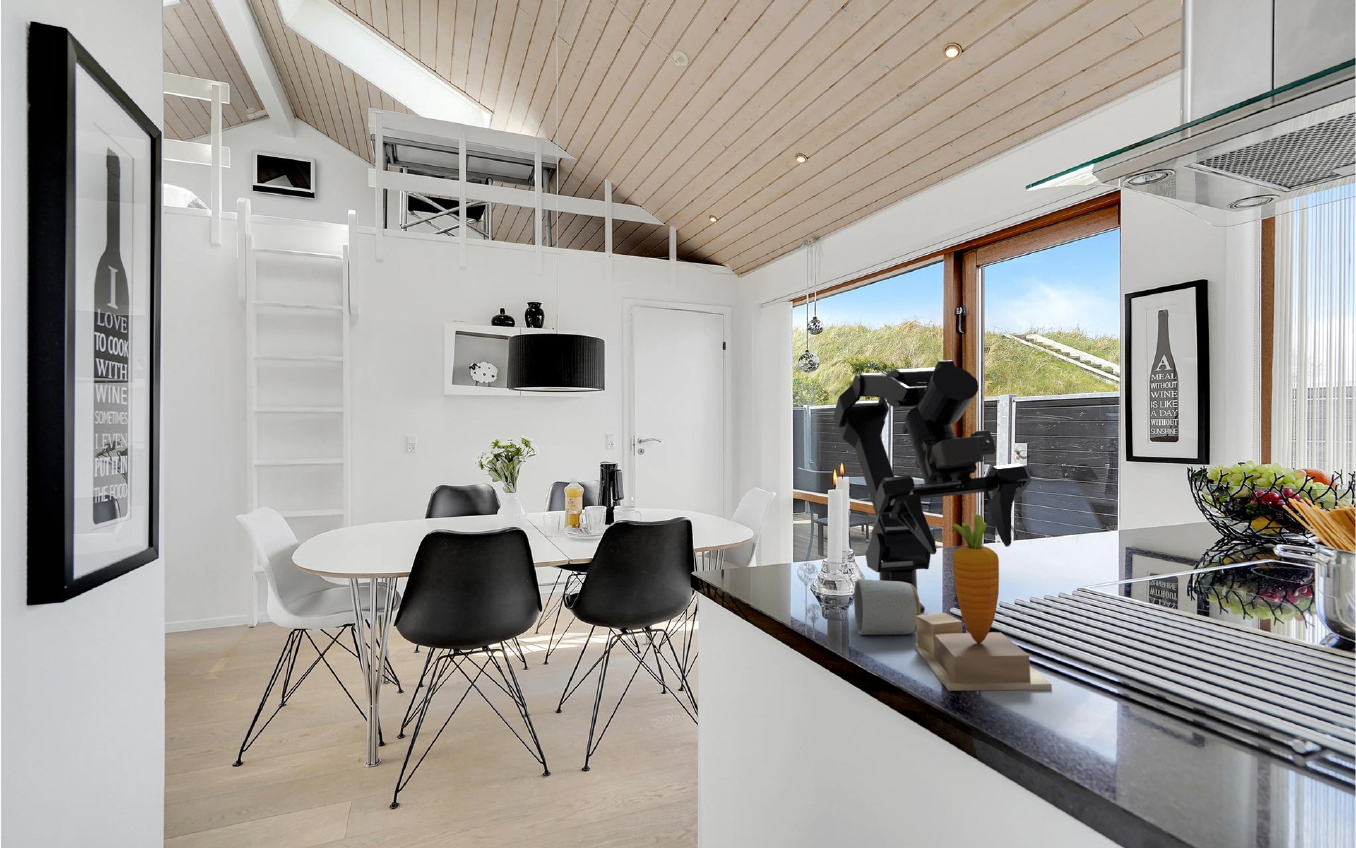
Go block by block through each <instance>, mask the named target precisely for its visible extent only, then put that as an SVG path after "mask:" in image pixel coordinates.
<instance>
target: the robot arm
mask: <svg viewBox="0 0 1356 848" xmlns="http://www.w3.org/2000/svg"><path fill="white" fill-rule="evenodd" d="M978 391H979V382H978V380H977V378H976V377H975V376H973V375H972V374H971V373H970V372H969V371H967V370H965V369H963V368H962V367H958V366H956V365H955V362H954V360H938V362H937V363H936V365H935V367H922V368H921V367H920V368H917V367H915V368H896V369H892V370H891V371H888V372H887V373H881V372H868V373H858V374H856V375H854V377H853V380H852V383H851V385H850V386H849V387H848V388H847V389H845V390H844V392H842V393H841V394H840V395H839V396H838V398H837V402H836V405H835V408H834V413H833V415H834V416H833V420H834V425H835V427H837V428H838V431H839V434H840V436H841V438H842V439H843V441H845V442H846V443H847V444H848V445H849V446H851V447H853V448H854V449H855V453H856V456H857V458H858V459H857V460H858V462H859V465H860V468H861V469H860V470H861V472H862V474H863V478H864V481H865V483H866V487H867V491H868V494H869V497H870V500H871V504H872V506H873V510H874V514H875V522H874V524H873V526H872V527H873V528H872V530H871V532H870V533H871V539H870V541H869V543H868V547H867V549H866V552H865V558H866V559H865V560H866V565H867V567H868V568H869V569H871V570H872V571H874V572H876V573H878V574H879V575H878V577H879V580H881V581H900V582H905V583H909V584H912V585H913V586H914V587H915V588H916V590H917V591H918V582H917V581H918V577H917V570H929V568H930V564H931V563H930V562H931V556H932V555H936V553H937V550H938V549H937V547H936V546H937V545H936V543H935V539H934V536H933V533H932V531H931V529H930V526H929V523H928V521H927V518H926V516H925V514H924V511H923V505H922V500H924V499H931V498H932V499H933V498H941V497H950V496H960V495H961V496H962V495H969V494H978V493H979V494H980V493H984V497H985V499H987V500H988V501H989V502H988V503H987V505H986V507H987V510H988V512H989V514H990V516H991V517H990V518H991V519H992V522H993V523H994V526H995V529H996V531H997V534H998V536H999V538H1000V541H1001V542H1002V543H1003V545H1004V547H1007V548H1008V547H1010V546H1011V544H1012V510H1013V503H1014V501H1015V500H1018V499H1019V498H1020V497H1021V495H1022V494H1023V492H1025V490H1026V488H1027V487H1028V486H1029V485H1030V483H1031V482H1032V479H1033V478H1032V477H1031V475H1030V472H1029V470H1028V468H1027V467H1026V466H1024V465H1022V464H1021V463H1011V464H1001V465H1000V464H999V465H993V466H992V467H991V469H990V470H989V472H988V474H987V475H986V476H982V477H973V478H972V477H971V474H975V473H976V471H977V469H978V468H977V465H976V464H977V463H983V462H984V461H985V459H984V458H985V457H986V458H987V457H990V456H992V455H994V454H996V451H997V448H996V445H995V444H996V443H995V440H994V438H993V436H992V434H991V432H990V429H984V430H977V431H976V430H975V431H974V432H973V433H971V434H970V436H966V437H961V436H958V437H957V436H956V434H955V432H954V428H953V426H952V425H953V424H955V423H956V422H958V421H959V420H960V419H962V416H963V414H964V413H966V410H967V408H968V407H969V405H971V403H972V401H973V400H974V398H975V396H976V395H977V393H978ZM861 397H862V398H863V397H873V398H879V399H878V400H875V399H873V400H860V399H861ZM889 406H891V407H893V408H895V409H910V408H911V409H910V410H909V411H908V412H907V414H906V416H905V418H904V420H903V421H904V424H903V426H902V434H903V435H908V436H909V439H910V442H911V445H912V447H913V448H912V449H913V451H914V454H915V455H914V456H915V458H916V459H915V461H914V464H915V467H916V469H919V470H920V473H921V476H922V479H923V483H918V484H915V481H914V478H913V477H912V476H911V475H902V476H901V475H899V476H895V473H894V471H893V468H892V465H891V463H890V460H889V456H888V454H887V451H886V448H885V446H884V442H883V439H882V437H881V435H882V432H883V429H884V427H885V424H886V418H887V415H888V413H889V412H890V408H889ZM925 610H926V608H925V606H924V604H922V603H921V602H920V612H923V611H925Z"/></svg>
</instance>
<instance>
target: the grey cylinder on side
mask: <svg viewBox="0 0 1356 848" xmlns="http://www.w3.org/2000/svg"><path fill="white" fill-rule="evenodd" d="M920 603H921V602H920V597H919V592H918V589H917V590H916V588H915V587H914V586H913V585H912V584H909V583H905V582H900V581H881V580H880V579H879V580H877V579H863V578H862V579H861V578H858V579H857V580H856V582H855V583H854V592H853V605H854V606H853V607H854V620H855V624H856V629H857V632H858V634H859V635H861V636H881V635H884V636H885V635H887V636H889V635H898V636H899V635H908V634H909V635H910V634H914V633H915V632H917V624H916V616H917V615H922V614H921V612H922V611H920Z"/></svg>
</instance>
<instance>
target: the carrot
mask: <svg viewBox="0 0 1356 848" xmlns="http://www.w3.org/2000/svg"><path fill="white" fill-rule="evenodd" d="M973 518H974V519H973V521H974V522H973V523H974V531H972V528H971V526H970V524H968V522H967V521H966V522H962V523H961V526H960V525H959V524H957V523H953V524H952V526H951V527H952V529H954V530H955V531H957V532H958V533H959V535H961V537H962V538H963V540H964V541H965V542H966V544H967V545H963V546H960V547H957V548H956V549H955V550H954V551H953V554H952V566H953V578H954V580H953V581H954V589H955V595H956V598H957V601H958V602H957V603H958V607H959V610H960V614H961V617H962V620H963V622H964V624H965V626H966V628H967V630H968V633H970V634H971V636H972V638H973V639H974V640H975V641H976V642H977V643H978V644H980V643H981V642H983V641H984V640H985V638H986V636H987V634H988V633H990V630H991V628H992V625H993V623H994V620H995V616H996V611H997V608H998V607H997V606H998V600H999V593H1000V590H999V585H1000V584H999V583H1000V561H999V556H998V554H997V553H996V551H994V550H992V549H991V548H990V547H988V546H984V545H983V543H982V542H983V538H984V537H983V536H984V534H985V533H986V532H985V531H986V529H987V526H988V524H987V523H986V522H985V521H984V517H983V516H982V515H980V514H975V515H974V516H973ZM982 545H983V546H982Z"/></svg>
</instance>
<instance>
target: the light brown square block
mask: <svg viewBox="0 0 1356 848" xmlns="http://www.w3.org/2000/svg"><path fill="white" fill-rule="evenodd" d="M934 649H935V659H936V660H937V661H938V662H939V664H940V665H941V666H942V667H943V668H944V670H945V671H946V672H947V673H948V674H949V676H950V677H951V678H952V679H953V681H954V682H955V683H1031V682H1030V666H1031V665H1030V663H1031V662H1030V655H1029V654H1028V653H1027V652H1026V651H1024V649H1022V648H1021V647H1019V646H1018V645H1017V644H1016V643H1014V642H1013V641H1012V640H1011V639H1009V638H1008V637H1007V636H1006V635H1005V634H1003V633H1002V632H988V634H987V636H986V638H985V640H984V641H983V642H981V643H980V644H978V643H977V642H976V641H975V640H974V639H973V638H972V636H971V634H970V632H968V633H967V632H963V633H952V634H934Z"/></svg>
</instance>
